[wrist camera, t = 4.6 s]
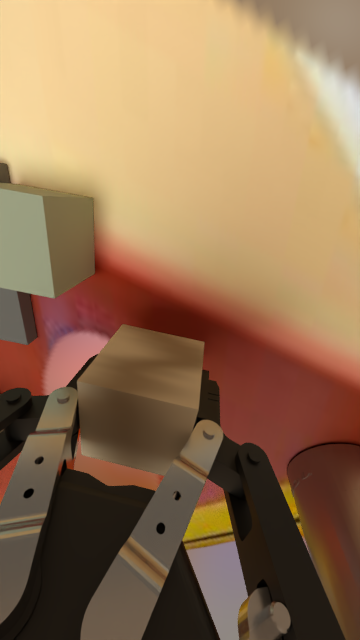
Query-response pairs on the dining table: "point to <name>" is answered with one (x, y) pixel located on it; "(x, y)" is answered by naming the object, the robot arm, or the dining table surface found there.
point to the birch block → (140, 399)
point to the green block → (44, 240)
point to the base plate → (15, 304)
